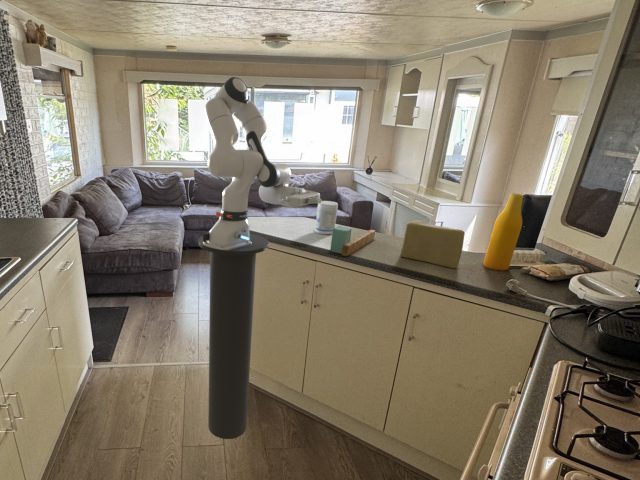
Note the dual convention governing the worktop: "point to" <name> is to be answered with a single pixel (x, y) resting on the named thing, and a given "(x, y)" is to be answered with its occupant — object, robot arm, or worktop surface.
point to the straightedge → (358, 242)
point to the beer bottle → (505, 235)
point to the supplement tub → (326, 217)
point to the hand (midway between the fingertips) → (320, 201)
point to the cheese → (432, 244)
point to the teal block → (340, 238)
